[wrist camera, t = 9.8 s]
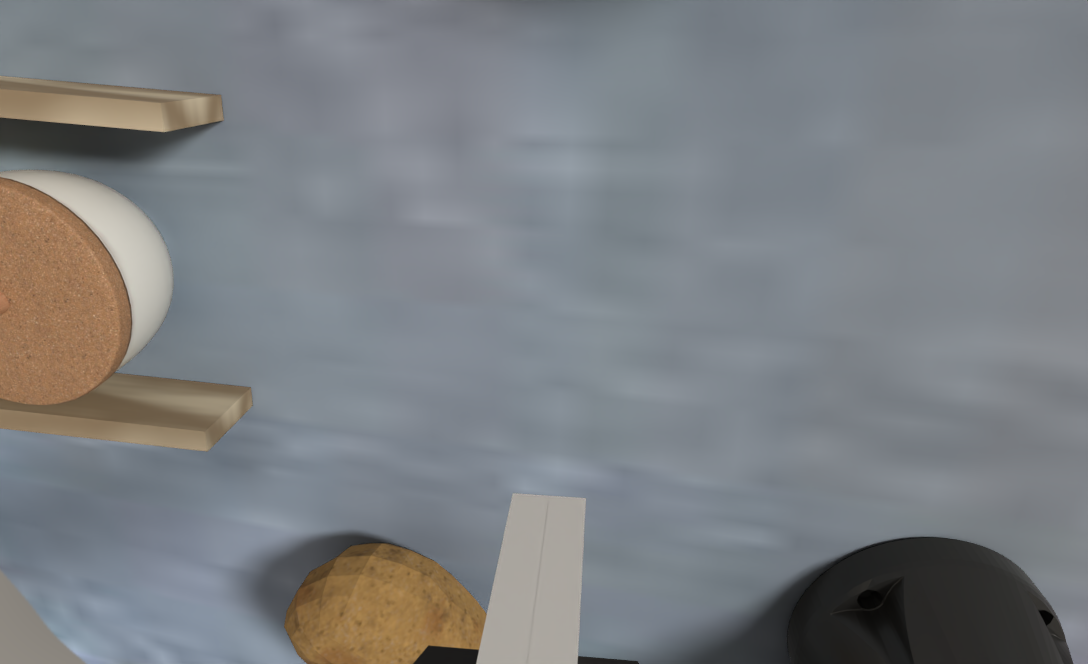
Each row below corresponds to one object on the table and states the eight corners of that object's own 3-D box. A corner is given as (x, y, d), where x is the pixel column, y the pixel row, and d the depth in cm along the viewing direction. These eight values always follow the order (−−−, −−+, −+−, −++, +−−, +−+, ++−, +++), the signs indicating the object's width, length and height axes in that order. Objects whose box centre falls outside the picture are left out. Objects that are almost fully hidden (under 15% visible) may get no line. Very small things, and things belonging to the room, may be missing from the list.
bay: (252, 405, 41) (207, 451, 36) (15, 379, 41) (-59, 421, 37) (221, 94, 34) (160, 103, 29) (-62, 70, 35) (-164, 74, 30)
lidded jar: (56, 344, 40) (-93, 426, 32) (-12, 157, 36) (-205, 192, 28) (231, 339, 39) (125, 423, 31) (181, 146, 35) (43, 179, 27)
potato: (457, 682, 48) (430, 797, 41) (293, 565, 45) (233, 666, 38) (551, 608, 45) (541, 718, 38) (382, 477, 42) (334, 569, 35)
